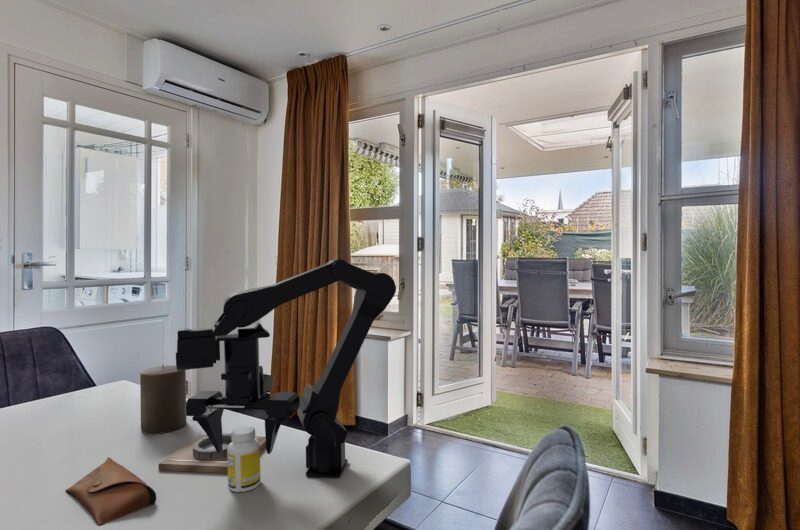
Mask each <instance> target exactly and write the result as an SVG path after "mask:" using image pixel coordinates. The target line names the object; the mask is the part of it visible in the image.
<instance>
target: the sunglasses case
mask: <svg viewBox="0 0 800 530" xmlns="http://www.w3.org/2000/svg"><path fill="white" fill-rule="evenodd" d="M65 493H66V494H69V495H71V496H72V497H74V498H75V499H76V500H77V501H78V502H79V503H81V504H82V505H83V507H84V508H86V510H87V511H88V512H89V513H90V514H91V515H92V517H93V518H94V519H95V521H96V524H97V525H98V526H103V525H104V526H105V525H106V524H108V523H110V522H112V521H115V520H118V519H119V518H122V517H125V516H127V515H130V514H132V513H135V512H137V511H139V510H143V509H146V508H147V507H150V506H154V505H155V504H156V502H157V493H156V491H155V490H154V489H153V488H152V487H151V486H150V485H148V484H147V483H146V482H145V481H144V480H142V479H141V478H139V476H137V475H136V474H134V473H133V472H131V471H130V470H129V469H128V468H126V467H124V466H123V465H122V464H120V463H118V462H116V461H115V460H113V459H112V458H111V457H109V456H108V457H107V458H106V460H105V461H104V462H103V463H101V464H100V465H99V466H97V467H95V469H93V470H92V471H90V472H88V474H86V475H85V476H83V477H81V479H79V480H78V481H76V482H75V483H74V484H73V485H71V486H69V487H68V488H66V489H65Z"/></svg>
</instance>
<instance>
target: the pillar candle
mask: <svg viewBox="0 0 800 530" xmlns="http://www.w3.org/2000/svg"><path fill="white" fill-rule="evenodd" d="M139 376H140V378H139V379H140V384H139V385H140V392H139V393H140V431H141V432H143V433H144V434H148V435H150V434H151V435H156V434H157V435H159V434H164V433H169V432H175V431H177V430H180V429H181V428H184V427H185V426H186V425H187V416H186V415H185V404H186V402H187V385H186V382H187V381H186V378H187V377H186V370H179V371H177V367H176V364H173V365H172V364H171V365H164V364H162V365H161V366H154V367H150V368H144V369H143V370H141V371H140V372H139Z"/></svg>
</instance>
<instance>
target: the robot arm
mask: <svg viewBox="0 0 800 530" xmlns="http://www.w3.org/2000/svg"><path fill="white" fill-rule="evenodd" d="M336 282H339V283H341V284H343V285H346V286H348V287H351V288H352V289H354V290H355V293H354V296H353V305H352V312H351V313H350V316H349V317H348V320H347V322H346V324H345V326H344V327H343V331H342V333H341V335H340V337H339V339H338V341H337V343H336V345H335V347H334V349H333V352H332V353H331V356H330V357H329V360H328V362H327V364H326V366H325V368H324V370H323V372H322V374H321V376H320V378H319V379H318V380H317V381H316V382H315V383H314V384H313V385H311V384H310V383H308V382H306V384H305V386H304V389H303V392H302V394H301V396H300V397H299V395H298V394H297V392H292V391H291V392H289V391H287V392H286V391H285V392H284V391H281V392H280V391H278V392H276V393H275V394H273V395H271V397H270V398H269V397H261V396H265V395H266V394H268V393H272V391H273V384H274V383H273V382H274V376H273V375H271V374H266V373H264V368H263V365H260V345H259V344H260V343H259V341H260V340H259V339H262V338H270V336H271V333H270V332H269V331H268V329H266V328H264V327H263V325H262V324H261V322H257V321H259V320H261V319H262V318H264V317H266V316H267V315H268V314H270V313H271V312H273V310H275V309H276V308H278V307H279V306H281V305H285V304H286V303H288V302H290V301H293V300H295V299H298V298H301V297H303V296H305V295H308V294H309V293H313V292H315V291H317V290H320V289H322V288H324V287H325V288H326V286H330V285H331V284H334V283H336ZM396 292H397V285H396V282H395V280H394V279H393V277H392V276H391V275H389V274H388V273H384V272H377V271H376V272H375V271H368V270H365V269H363V268H361V267H358V266H356V265H353V264H351V263H348V262H347V261H346V260H344V259H340V258H333V259H331V260H329V261H328V262H326V263H324V264H322V265H319V266H316V267H314V268H312V269H309V270H307V271H303V272H300V273H299V274H296V275H293V276H291V277H288V278H285V279H283V280H280V281H279V282H275V283H273V284H271V285H266V286H260V287H255V288H249V289H244V290H240V291H235V292H233V293H230V294H229V295H228V296H227V297H226V298H225V300H224V303H223V307H222V313H221V315H220V317H218V319H217V320H216V321H214V324H213V325H212V327H207V328H194V329H193V328H191V329H190V328H179V330H178V331H177V341H176V351H175V365H176V367H177V371H179V370H185V371H188V370H196V369H206V368H214V366H215V365H214V364H217V361H218V362H219V361H221V345H220V344H221V342H223V348H224V349H223V351H224V353H223V355H224V372H222V373H220V378H221V379H220V380H221V381H224V384H225V385H224V387H225V388H224V389H225V395H223V394H222V393H223V392H221V391H220V390H202V391H199V392H198V393H196V394H194V395H193V396H190V397H189V398H188V399H186V404H185V415H186V417H191V418H192V419H191V420H192V421H194V422H197V424H199V426H200V427H201V429H202V430H203V432H204V433H205V435H207V436H208V437H209V439H210V441H211V442H212V444H213V446H214V448H215V449H216V451H217V452H221V451H222V446H223V437H222V434H223V424H222V423H223V422H222V420H223V419H222V417H223V413H224V410H260V411H261V410H263V411H265V414H266V415H267V417H266V418H265V419H264V429H265V431H264V432H265V436H264V437H266V446H265V449H266V454H268V455H270V454H271V453H272V452H273V450H274V445H275V442H276V439H277V437H278V433H279V430H280V428H281V425H282V423H283V422H285V420H286V419H287V418H291V417H292V416H293V415H294V413H295V412H297V416H298V419H299V420H300V423H301V425H302V427H303V429H304V431H305V432H306V433H307V434H308V435H310V437H308V441H307V442H308V443H307V444H306V446H305V467H306V469H307V470H306V472H305V476H306V477H318V478H319V477H321V478H341V477H342V474H343V472H344V471H345V468H346V467H347V464H348V462H349V461H348V460H349V459H347V458H346V439H347V436H348V430H347V429H346V428H345V426H344V425H343V423H342V422H341V421H340V420H339V418H338V417H337V415H338V412H339V410H340V409H339V406H340V402H341V401H340V400H341V394H342V393H341V391H342V389H343V386H344V385H345V382H346V380H347V378H348V376H349V374H350V371H351V369H352V367H353V365H354V363H355V361H356V358H357V356H358V355H359V353H360V350H361V348H362V346H363V344H364V343H365V339H366V338H367V336H368V334H369V331H370V329H371V327H372V324H373V322H374V321H375V320H376V319H377V318H378V317H379V316H380V315H381V314H382V313H383V312H384V310H386V309H387V307H388V305H390V302H391V301H392V300H393V298H394V297H395V295H396ZM256 322H257V324H256V325H255V326H253V327H249V326H251V325H253V324H255V323H256ZM236 329H237V332H236V333H232V332H233V331H235V330H236Z"/></svg>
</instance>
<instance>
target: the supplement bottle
mask: <svg viewBox="0 0 800 530" xmlns="http://www.w3.org/2000/svg"><path fill="white" fill-rule="evenodd" d="M230 433H231V440H232V441H233V442H231V443H230V444H229V446H228V448H227V457H228V473H227V486H228V489H229V490H230V491H232V492H235V493H244V492H248V491H252V490H254V489H255V488H257V487H258V486H259V485H260V483H261V451H260V445H259V442H258V440H256V439H254V438H255V436H256V428H255V427H254V426H251V425H250V426H249V425H242V426H238V427H235V428H233V429H232V430H231V432H230Z"/></svg>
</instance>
